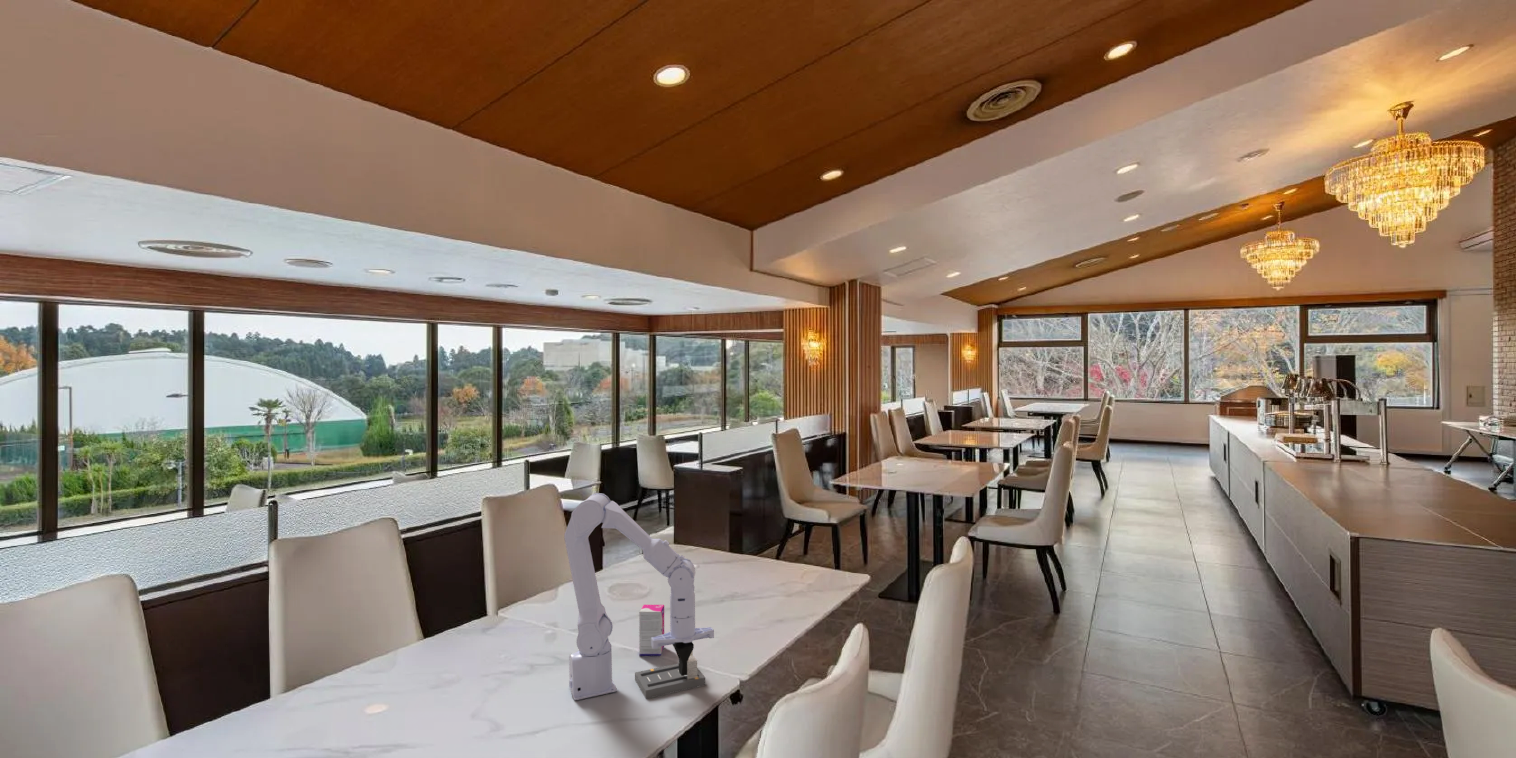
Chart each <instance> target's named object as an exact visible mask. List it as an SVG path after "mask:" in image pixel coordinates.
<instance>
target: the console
mask: <svg viewBox="0 0 1516 758" xmlns="http://www.w3.org/2000/svg"><path fill="white" fill-rule="evenodd" d="M697 675H698V678H694V679H689V680H687V678H686V677H685V676H681V674H680V673H679V662H678V663H675V664H674V663H673V664H669V665H664V666H660V667H655V668H650V669H646V670H642V671H641V670H640V671H636V672H635V671H634V681H635V683H636V684H637V686H638V688H639V689H640V691H641V693H642V694H643V696H644V698H645V700H646V699H647V700H648V699H650V698H651V699H652V698H656V697H659V696H664V695H668V694H672V693H677V692H682V691H686V690H691V689H696V688H699V687H703V686H704V687H705V686H706V685H707V684H706V676H705V675H704V673H702V672H701V670H700V669H699V668H698V667H697Z"/></svg>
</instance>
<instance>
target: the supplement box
mask: <svg viewBox="0 0 1516 758" xmlns="http://www.w3.org/2000/svg"><path fill="white" fill-rule="evenodd" d="M638 616H639V621H638V622H639V626H638V627H639V628H638V629H639V632H638V633H639V634H638V637H639V641H638V643H639V647H638V648H639V650H638V653H639V655H638V656H639V657H660V656H662V654H663V651H664V649H665V646H660V647H658V648H656V649H653V648H652V646H651V637H656V636H659V635H662V634H665V605H664V604H643V605H642V606H641V609H640V610H639V615H638Z"/></svg>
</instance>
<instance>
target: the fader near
mask: <svg viewBox="0 0 1516 758" xmlns="http://www.w3.org/2000/svg"><path fill="white" fill-rule="evenodd" d="M697 668H698V660H697V658H696V657H695V656H694V655H692V656H690V657H689V659H688V662H687V675H684V676H685V677H686V678H687V680H689V679H694V678H698V675H697Z"/></svg>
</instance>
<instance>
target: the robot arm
mask: <svg viewBox="0 0 1516 758" xmlns="http://www.w3.org/2000/svg"><path fill="white" fill-rule="evenodd" d="M600 524H602V525H601V529H615V530H617V531H618V532H619V533H621V535H623V536H624V537H626V538H627V539H629V540H630V541H631V542H632V543H633V544H634V545H636V546H637V547H638V548H639V549H641V550H642V554H643V555H642V556H643V559H644V560H645V561H646V562H648V564H649V565H650V566H652V567H653V568H654V569H656V570H657V571H658V573H660V575H662V576H663V577H665V578H667V583H668V585H669V587H670V595H669V609H670V610H669V614H670V615H669V619H670V620H669V622H670V625H669V626H670V627H669V628H670V631H668V632H666V633H665V632H664V634H662V635H659V636H656V637H651V646H652V648H653V649H656V648H658V647H660V646H664V647H666V646H670V645H672V646H673V648H674V650H675V652H676V653H675V654H676V655H677V657H678V663H679V673H680V674H681V676H684V675H687V662H688V659H689V657H690V654H691V652H692V651H693V652H694V649H695V648H694V647H695V644H694V643H693V641H697V640H702V639H708V638H709V639H714V638H715V630H714V629H713V627H711V626H707V627H696V593H695V584H694V583H695V576H696V567H695V565H694V563H693V562H692V561H691V559H689V558H686V557H685V556H684V555H683V554H681V555H680V554H679V553H677V552H676V551H675V550H674V549H673V548H672V547H671V546H669V545H670V542H669V541H668V540H667V539H665V540H663V539H662V538H652V536H651V535H650V534H649V533H648V532H646V531H645V530H644V529H643V528H642V527H641V526H640V524H638V523H637V521H635V520H634V519H633V518H632V517H631V516H629V514H628V513H627V512H626V511H625V510H624V509H623V508H621V506H620V505H619V504H618V503H617V502H615V501H614V500H611V499H610V498H609V496H608V495H606V494H605V493H600V492H596V493H593V494H590V495H589V496H588V497H587V498H586V499H585V500H583V501H581V502H580V503H579V504H578V505H577V506H576V507H575V508H574V510H573V511H572V512H571V516H570V519H569V522H568V524H567V526H566V529H565V532H564V537H563V538H564V544H565V549H566V553H567V559H568V563H569V568H570V573H571V578H572V584H573V589H574V594H575V599H576V604H577V609H578V618H577V630H578V632H577V633H578V634H577V637H576V647H577V649H578V651H576V652H573V653H571V654H569V656H568V669H569V670H568V673H569V675H568V676H569V680H568V683H569V684H568V685H569V689H570V692H571V695H572V698H573V701H578V700H584V699H588V698H592V697H597V696H601V695H606V694H610V693H615V692H617V690H618V689H617V686H616V684H615V683H614V681H613V662H612V661H613V660H612V657H613V656H612V643H611V641H610V639H609V637H610V636H611V635H612V632H613V627H614V625H613V622H612V620H611V618H610V617H609V616H608V614H607V612H606V607H605V606H604V605H603V604H602V601H601V597H600V591H599V586H598V581H597V575H596V571H595V566H594V561H593V556H592V555H593V554H592V552H591V545H590V541H589V536H590V535H591V534H592V532H593V531H594V530H595V528H596V527H598V526H599V525H600Z"/></svg>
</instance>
